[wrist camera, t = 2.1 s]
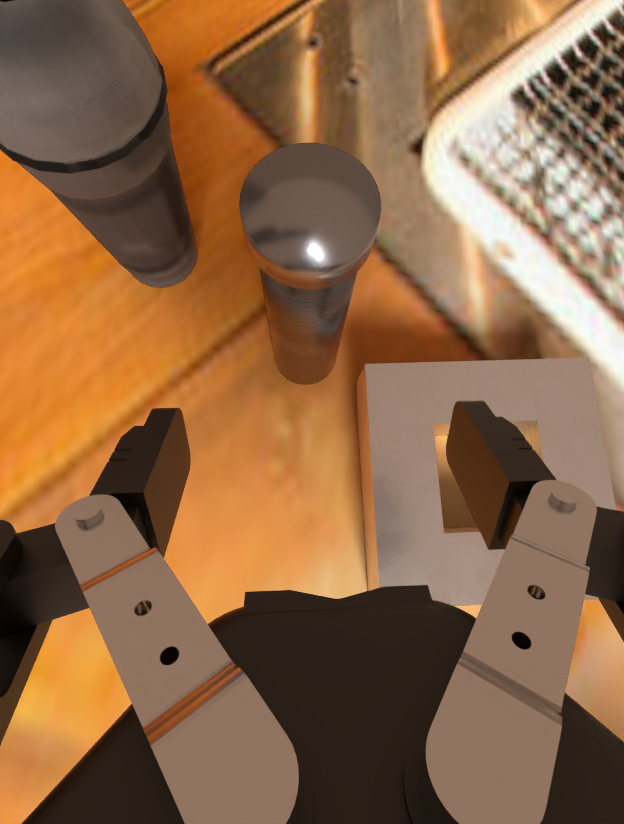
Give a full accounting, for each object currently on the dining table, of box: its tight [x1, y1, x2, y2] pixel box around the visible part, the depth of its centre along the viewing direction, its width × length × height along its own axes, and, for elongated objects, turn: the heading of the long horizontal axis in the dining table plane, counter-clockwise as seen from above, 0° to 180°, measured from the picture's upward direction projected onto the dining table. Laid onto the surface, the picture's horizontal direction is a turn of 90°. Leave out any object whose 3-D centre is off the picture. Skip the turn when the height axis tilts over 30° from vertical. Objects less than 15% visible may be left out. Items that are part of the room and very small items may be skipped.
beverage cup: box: [0, 0, 197, 288], centre depth 19 cm, size 7×7×20 cm
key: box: [239, 143, 381, 385], centre depth 21 cm, size 4×4×14 cm
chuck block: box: [356, 358, 616, 606], centre depth 24 cm, size 12×12×4 cm
